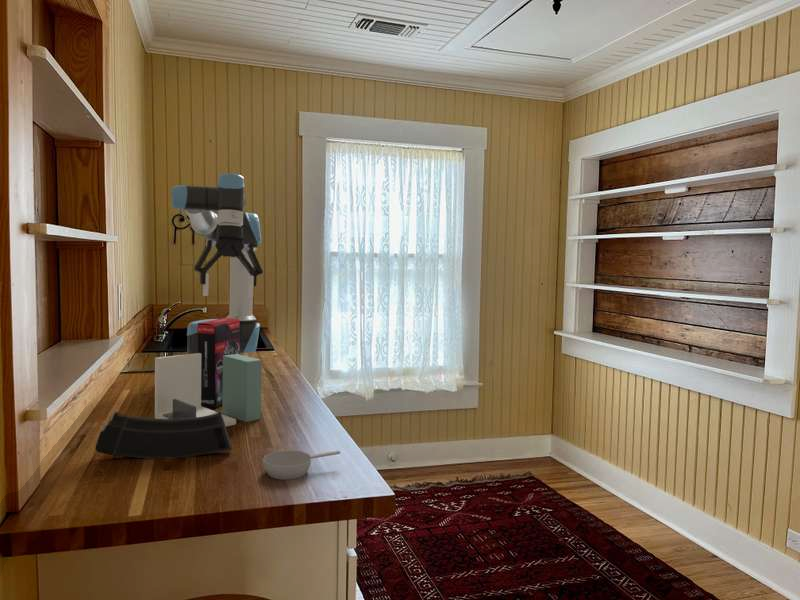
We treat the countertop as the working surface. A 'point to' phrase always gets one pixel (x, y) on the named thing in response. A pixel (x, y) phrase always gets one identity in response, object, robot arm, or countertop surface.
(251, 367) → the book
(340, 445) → the countertop surface
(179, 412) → the grey block bar
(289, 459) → the saucepan
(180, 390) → the white panel stand
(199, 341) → the graphics card box
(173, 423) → the magazine
